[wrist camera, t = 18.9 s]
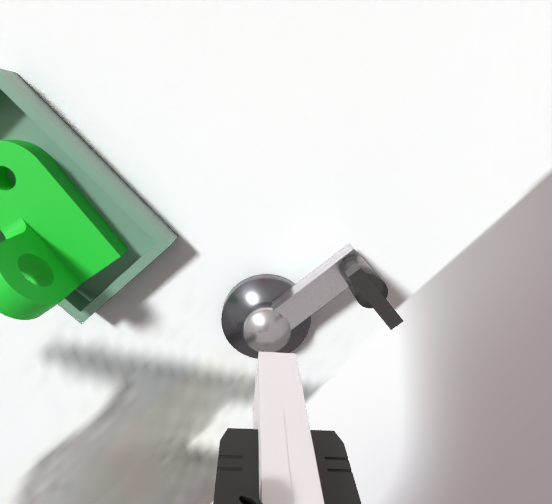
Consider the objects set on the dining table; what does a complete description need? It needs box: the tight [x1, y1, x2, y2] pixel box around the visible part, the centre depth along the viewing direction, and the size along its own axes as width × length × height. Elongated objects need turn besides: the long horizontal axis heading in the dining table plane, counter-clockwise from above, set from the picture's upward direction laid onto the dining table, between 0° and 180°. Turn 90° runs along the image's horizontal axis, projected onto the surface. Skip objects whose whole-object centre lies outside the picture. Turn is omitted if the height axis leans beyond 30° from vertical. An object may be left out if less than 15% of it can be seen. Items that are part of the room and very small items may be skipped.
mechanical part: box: [0, 140, 128, 320], centre depth 26 cm, size 12×6×8 cm, turn 33°
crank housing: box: [222, 274, 311, 359], centre depth 34 cm, size 8×8×1 cm
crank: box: [243, 244, 403, 352], centre depth 29 cm, size 12×5×8 cm, turn 129°
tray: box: [0, 69, 177, 324], centre depth 29 cm, size 11×17×2 cm, turn 41°
